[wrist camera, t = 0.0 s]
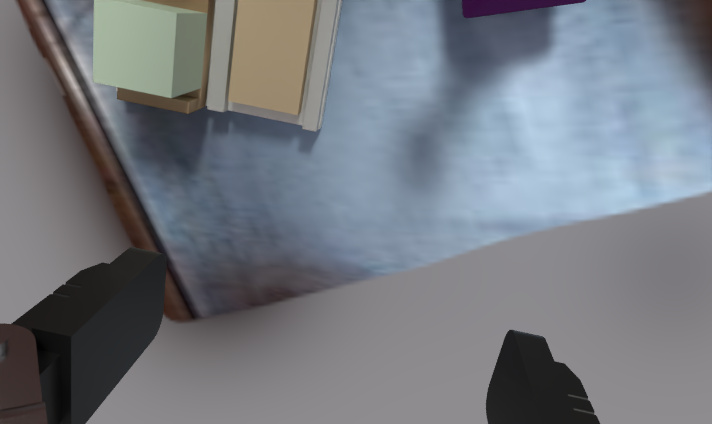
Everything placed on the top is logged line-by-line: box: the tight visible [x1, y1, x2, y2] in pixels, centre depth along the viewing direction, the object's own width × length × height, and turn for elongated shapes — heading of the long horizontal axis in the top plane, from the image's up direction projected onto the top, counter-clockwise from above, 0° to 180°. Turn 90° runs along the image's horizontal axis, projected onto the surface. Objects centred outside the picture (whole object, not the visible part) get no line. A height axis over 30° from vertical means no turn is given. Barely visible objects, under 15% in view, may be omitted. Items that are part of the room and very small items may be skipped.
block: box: [93, 0, 207, 98], centre depth 35 cm, size 5×5×5 cm
